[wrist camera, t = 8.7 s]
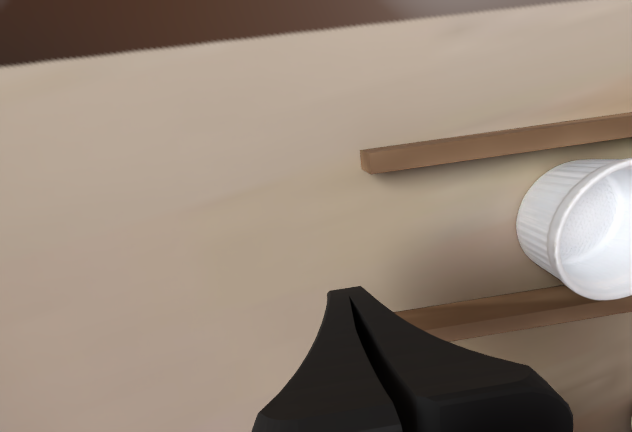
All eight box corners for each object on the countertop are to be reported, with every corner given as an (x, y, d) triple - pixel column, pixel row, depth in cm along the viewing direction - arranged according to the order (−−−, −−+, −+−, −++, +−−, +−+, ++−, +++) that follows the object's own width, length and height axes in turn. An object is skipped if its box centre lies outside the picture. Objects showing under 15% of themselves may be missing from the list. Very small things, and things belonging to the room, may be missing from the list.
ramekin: (628, 138, 21) (711, 140, 17) (621, 255, 23) (693, 282, 19) (502, 169, 21) (555, 178, 17) (509, 283, 23) (556, 316, 19)
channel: (627, 288, 24) (664, 306, 22) (376, 329, 23) (385, 352, 21) (656, 108, 20) (705, 105, 18) (360, 150, 20) (369, 152, 17)
